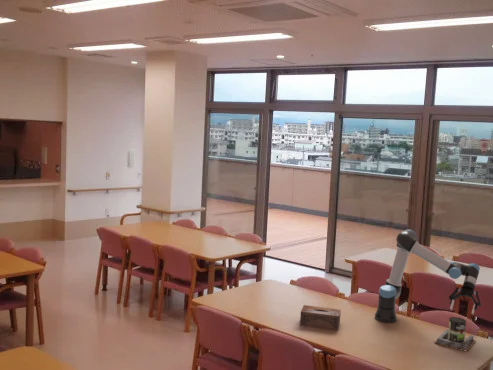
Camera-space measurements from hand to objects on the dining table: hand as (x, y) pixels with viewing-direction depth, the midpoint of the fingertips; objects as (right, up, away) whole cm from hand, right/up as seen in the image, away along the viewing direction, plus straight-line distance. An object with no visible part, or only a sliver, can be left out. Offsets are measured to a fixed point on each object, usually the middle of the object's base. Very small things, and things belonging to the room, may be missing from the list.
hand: (461, 311), depth 354 cm
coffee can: (-6, -18, -6) cm, 20 cm away
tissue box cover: (-91, -13, +15) cm, 93 cm away
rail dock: (-7, -19, -6) cm, 21 cm away
